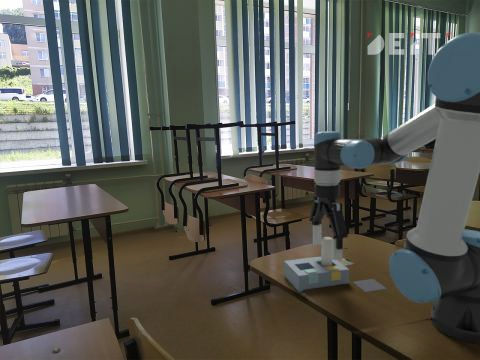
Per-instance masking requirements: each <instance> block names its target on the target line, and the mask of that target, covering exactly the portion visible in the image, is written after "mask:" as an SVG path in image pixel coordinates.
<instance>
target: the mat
mask: <svg viewBox="0 0 480 360" xmlns="http://www.w3.org/2000/svg"><path fill="white" fill-rule="evenodd" d="M352 283H353V284H354V285H355V286H356V287H358V288H360V289H361V290H362V291H363V292H365V293H369V292H374V291H382V290H387V289H388V288H387V287H385V286H384V285H383V284H381V283H380V282H378V281H377V280H375V279H374V278H370V279H369V278H368V279H362V280H357V281H354V280H353V281H352Z"/></svg>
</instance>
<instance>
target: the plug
mask: <svg viewBox="0 0 480 360" xmlns="http://www.w3.org/2000/svg"><path fill="white" fill-rule="evenodd" d="M320 250H321V255H320V256H321V266H322V267H329V266H332V257H333V237H330V236H322V237H321V249H320Z"/></svg>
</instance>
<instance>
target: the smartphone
mask: <svg viewBox="0 0 480 360" xmlns="http://www.w3.org/2000/svg"><path fill="white" fill-rule="evenodd" d="M337 261H339V262H340V263H341V264H343V265H344V266H345V267H349V266H354V265H356V263H354V262H352V261H351V260H349V259H348V258H345V257H343V258H342V259H338V260H337Z"/></svg>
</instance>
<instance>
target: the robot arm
mask: <svg viewBox="0 0 480 360" xmlns="http://www.w3.org/2000/svg"><path fill="white" fill-rule="evenodd" d="M427 70H428V71H427V83H428V84H427V85H428V86H429V87H431V88H430V91H431V93H432V94H433V95H434V97H435V102H434V103H433V104H432V105H430V106H428V107H427V108H425V109H424V110H422V111H421V112H419V113H417V114H416V115H415V116H413V117H411V118H410V119H408V120H407V121H405V122H403V124H400V125H399V126H398V127H396V128H394V129H393V130H391V131H390V132H388V133H386V134H385V135H383V136H381V137H371V138H356V139H345V138H343V139H342V136H341V132H340V131H333V130H332V131H330V130H329V131H318V132H316V133H315V135H314V145H313V151H314V161H313V162H314V170H313V171H314V173H313V174H314V176H313V179H314V189H313V190H314V192H313V193H314V195H313V201H312V202H313V203H312V207H311V210H310V215H309V219H308V220H309V222H311V225H312V246H317V245H318V246H320V245H321V243H322V236H323V235H322V224H323V223H322V220H323V219H324V216H325V217H326V218H327V219H328V221H329V224H330V226H331V231H332V232H333V236H332V238H333V260H338V259H342V258H343V248H344V247H343V244H344V243H343V242H344V239H346V238H349V236H348V230H347V227H346V222H345V218H344V217H345V215H344V213H343V204H342V203H341V202H340V203H339V202H337V198H340V196H341V185H340V182H341V174H342V172H341V167H345V168H350V169H352V170H353V169H354V170H355V169H361V170H362V169H366V168H367V167H369V166H375V165H376V166H378V165H394V164H397V163H401V162H404V161H405V160H406V159H407V158H408V156H409V154H410V153H412V152H414V151H416V150H418V149H419V148H422V147H423V146H426V145H427V144H429V143H430V142H433V141H434V140H435V143H434V148H433V152H432V157H431V162H430V166H429V170H428V174H427V178H426V183H425V187H424V192H423V197H422V200H421V201H422V202H421V205H420V210H419V215H418V219H417V224H416V227H413V228H412V229H410V230H408V231H407V234H406V237H405V241H404V245H403V248H398V249H397V250H395V251H394V252H393V253H392V254H391V255H390V257H389V262H388V269H389V274H390V277H391V280H392V281H393V283H394V286H395V287H396V288H397V290H398V291H399V292H400V294H401V295H403V297H405V298H406V299H408V300H410V302H411V301H412V302H414V303H418V304H428V303H434V304H433V306H432V308H431V312H430V313H431V315H430V321H431V323H432V325H433V326H434V327H435V328H436V329H437V330H439V332H442V334H445V335H447V336H449V337H451V338H454V339H456V340H458V341H463V342H466V343H470V344H477V345H480V231H478V230H473V229H472V230H471V229H468V228H467V229H466V224H467V220H468V217H469V212H470V209H471V205H472V202H473V198H474V195H475V190H476V187H477V184H478V181H479V180H478V179H479V176H480V31H478V32H466V33H461V34H458V35H456V36H454V37H452V38H450V39H449V40H448V41H446V43H444V44H443V45H442V46H441V47H440V48H439V49H438V50H437V51H436V53H435V54H434V56H433V58H432V59H431V62H430V64H429V67H428V69H427Z"/></svg>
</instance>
